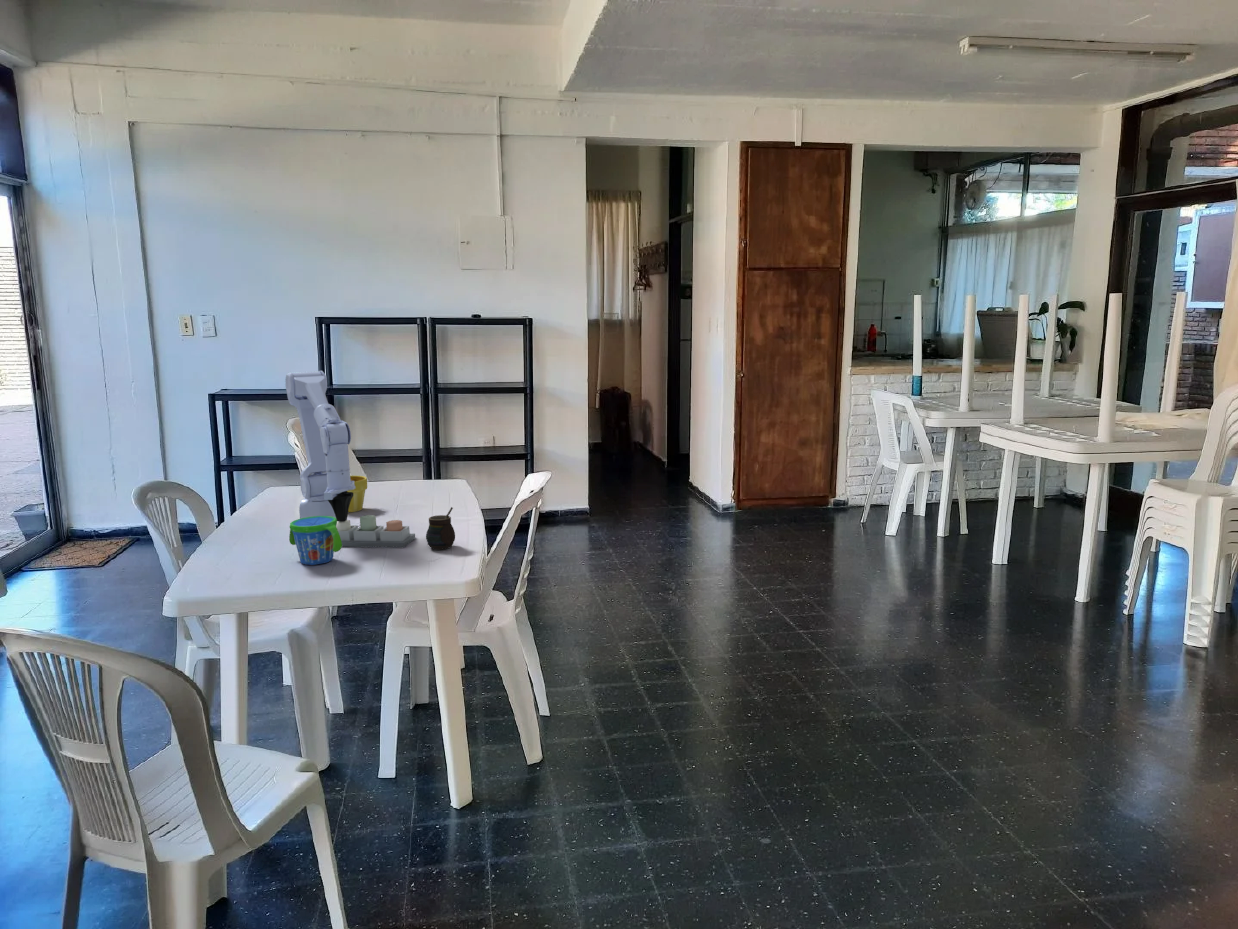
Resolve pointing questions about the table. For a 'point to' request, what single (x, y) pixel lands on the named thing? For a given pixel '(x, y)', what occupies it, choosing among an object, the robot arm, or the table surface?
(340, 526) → the cream button
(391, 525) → the terracotta button
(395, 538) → the button panel
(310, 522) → the snack cup
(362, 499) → the plant pot
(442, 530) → the mate gourd
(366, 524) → the sage button
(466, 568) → the table surface
